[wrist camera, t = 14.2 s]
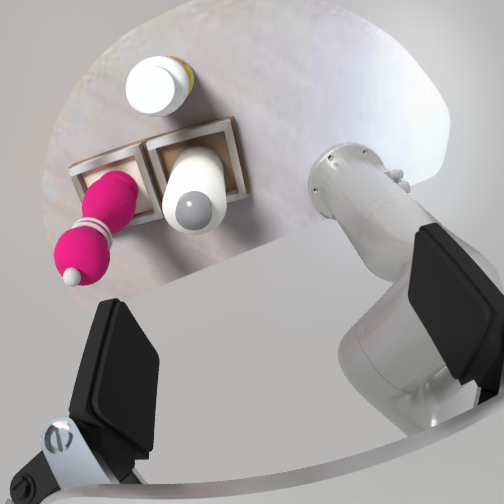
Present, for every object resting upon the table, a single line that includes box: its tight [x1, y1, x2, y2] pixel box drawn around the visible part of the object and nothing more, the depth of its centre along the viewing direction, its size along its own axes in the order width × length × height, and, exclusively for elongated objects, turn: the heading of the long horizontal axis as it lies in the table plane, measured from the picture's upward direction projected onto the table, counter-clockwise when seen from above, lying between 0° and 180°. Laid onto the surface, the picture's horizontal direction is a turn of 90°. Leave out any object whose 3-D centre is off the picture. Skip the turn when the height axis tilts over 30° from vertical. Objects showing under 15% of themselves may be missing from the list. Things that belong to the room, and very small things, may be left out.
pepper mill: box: [54, 170, 138, 286], centre depth 34 cm, size 7×7×20 cm
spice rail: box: [68, 116, 250, 229], centre depth 42 cm, size 24×11×3 cm, turn 101°
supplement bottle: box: [126, 56, 194, 117], centre depth 31 cm, size 7×7×13 cm
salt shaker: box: [162, 144, 227, 235], centre depth 37 cm, size 7×7×14 cm
